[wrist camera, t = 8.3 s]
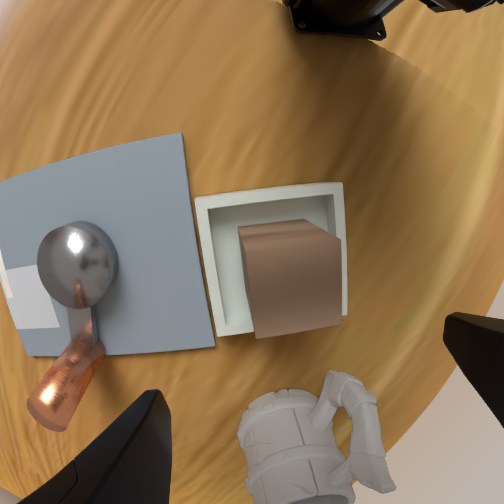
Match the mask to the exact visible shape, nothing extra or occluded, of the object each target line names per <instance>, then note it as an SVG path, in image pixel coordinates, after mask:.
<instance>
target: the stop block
mask: <svg viewBox="0 0 504 504" xmlns="http://www.w3.org/2000/svg"><path fill="white" fill-rule="evenodd" d="M238 234H239V243H240V251H241V259H242V267H243V275H244V283H245V291H246V295H247V300H248V305H249V309H250V314H251V318H252V323H253V327H254V332H255V336H256V339H260V338H266V337H273V336H279V335H285V334H291V333H297V332H303V331H308V330H314V329H319V328H324V327H330V326H335V325H340V324H342V252H341V239H340V238H338V237H336V236H334V235H332V234H331V233H329V232H327V231H325V230H324V229H322V228H320V227H318V226H316V225H315V224H313V223H311V222H309V221H307V220H305V219H297V220H288V221H279V222H271V223H263V224H254V225H246V226H238Z"/></svg>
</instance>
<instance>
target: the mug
mask: <svg viewBox="0 0 504 504" xmlns="http://www.w3.org/2000/svg"><path fill="white" fill-rule="evenodd" d="M376 406H377V400H376V398H375V396H374V395H373V394H372V393H371V392H369V391H368V390H366V389H365V388H364V385H363V383H362V382H361V381H360V380H359V379H357V378H356V377H354V376H352V375H350V374H348V373H346V372H343V371H341V372H337V371H334V370H329V371H328V372H327V374H326V377H325V380H324V384H323V388H322V392H321V395H320V397H319V399H318V398H317V397H316V396H315V395H313V394H311V393H310V392H307V391H304V390H299V389H289V390H287V389H281V390H279V391H278V392H277V393H275V392H273V391H272V392H269V393H266V394H264V395H262V396H260V397H258V398H257V399H255V400H254V401H252V402H251V403H250V404H249V405H248V408H249V409H248V410H245V411H244V412H243V414H242V416H241V422H240V424H239V427H238V432H237V437H238V440H239V444H240V447H241V448H242V450H243V451H244V453H245V458H246V462H247V467H248V475H247V477H246V478H245V484H246V486H247V489H248V491H249V493H250V495H251V496H252V497H253V499H254V504H353V503H354V502H355V493H354V491H353V488H352V485H351V481H352V480H353V479H355V478H356V479H357V480H358V481H359V482H360V483H361V484H362V485H364V486H366V487H368V488H371V489H374V490H376V491H378V492H380V493H388V492H391V491H394V490H396V486H395V484H394V482H393V480H392V479H391V477H390V474H389V471H388V468H387V465H386V461H385V458H384V457H385V456H386V455H385V451H384V447H383V443H382V439H381V425H380V423H379V418H378V413H377V408H376ZM340 407H344V409H345V410H346V412H347V414H348V416H349V418H350V419H352V433H351V440H350V448H349V451H350V454H349V456H348V458H347V459H346V458H345V456H344V454H343V453H342V452H341V451H339V449H338V446H337V444H336V441H335V438H334V435H333V433H332V426H333V422H332V418H333V416H334V414H335V413H336V411H337V409H338V408H340Z"/></svg>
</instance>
